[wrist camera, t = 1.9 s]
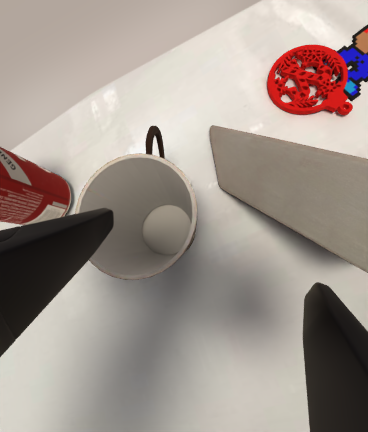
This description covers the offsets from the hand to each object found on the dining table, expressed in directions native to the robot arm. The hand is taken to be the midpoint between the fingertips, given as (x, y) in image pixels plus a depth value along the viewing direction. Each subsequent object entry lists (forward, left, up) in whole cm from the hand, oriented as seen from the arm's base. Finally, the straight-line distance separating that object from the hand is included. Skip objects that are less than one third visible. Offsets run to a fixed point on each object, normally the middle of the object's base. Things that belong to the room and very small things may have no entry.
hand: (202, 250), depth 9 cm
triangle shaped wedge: (+9, +1, -14) cm, 17 cm away
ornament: (+17, +16, -14) cm, 27 cm away
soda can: (-15, +15, -14) cm, 25 cm away
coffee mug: (-2, +5, -14) cm, 15 cm away
